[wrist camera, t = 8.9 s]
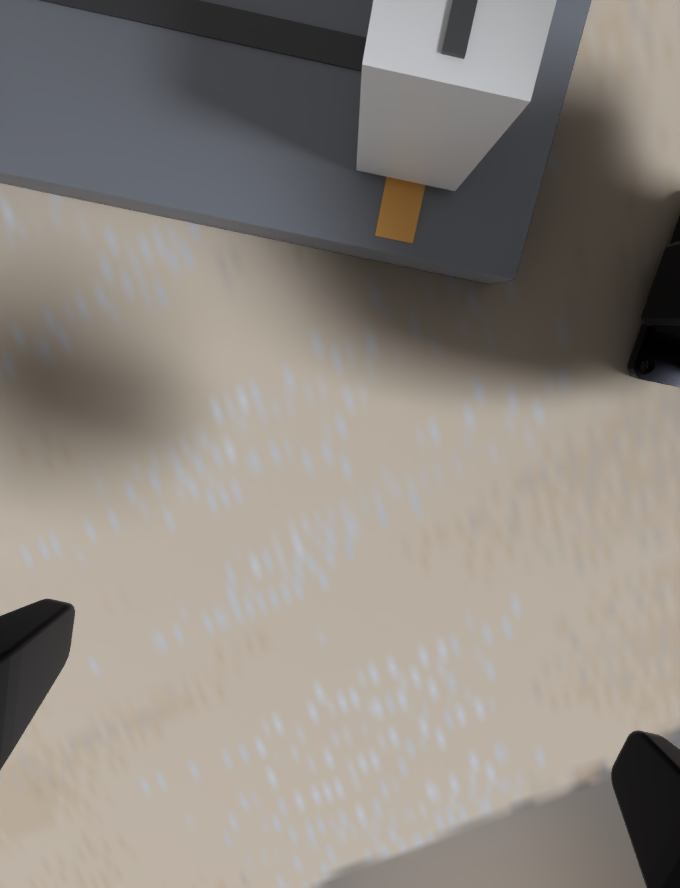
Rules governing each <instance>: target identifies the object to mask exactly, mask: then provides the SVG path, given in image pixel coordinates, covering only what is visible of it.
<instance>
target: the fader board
mask: <svg viewBox="0 0 680 888" xmlns="http://www.w3.org/2000/svg"><path fill="white" fill-rule="evenodd" d="M590 4H591V0H557V1H556V5H555V9H554V13H553V17H552V20H551V24H550V28H549V32H548V36H547V40H546V44H545V47H544V51H543V55H542V59H541V63H540V67H539V70H538V74H537V78H536V82H535V86H534V90H533V94H532V97H531V101H530V103H529V104H528V105H527V106H526V107H525V109H524V110H523V111H522V112H521V113H520V115H519V116H518V117H517V118H516V119H515V121H514V122H513V123H512V124H511V125H510V126H509V128H508V129H507V130H506V131H505V132H504V134H503V135H502V136H501V137H500V138H499V140H498V141H497V142H496V143H495V144H494V146H493V147H492V148H491V149H490V150H489V151H488V153H487V154H486V155H485V156H484V157H483V159H482V160H481V161H480V162H479V163H478V165H477V166H476V167H475V168H474V169H473V171H472V172H471V173H470V174H469V175H468V176H467V178H466V179H465V180H464V181H463V182H462V184H461V185H460V186H459V187H458V188H457V190H456V191H451V190H447V189H442V188H437V187H433V186H428V185H423V184H419V183H414V182H409V181H405V180H400V179H395V178H390V177H386V176H381V175H376V174H372V173H367V172H362V171H358V170H356V165H357V147H358V129H359V110H360V92H361V74H362V62H363V56H364V50H365V45H366V39H367V34H368V28H369V22H370V17H371V11H372V5H373V0H0V183H4V184H8V185H13V186H18V187H23V188H28V189H33V190H37V191H42V192H47V193H52V194H57V195H62V196H66V197H71V198H76V199H81V200H86V201H91V202H95V203H100V204H105V205H110V206H115V207H120V208H124V209H129V210H134V211H139V212H144V213H149V214H153V215H158V216H163V217H168V218H173V219H178V220H182V221H187V222H192V223H197V224H202V225H207V226H211V227H216V228H221V229H226V230H231V231H236V232H240V233H245V234H250V235H255V236H260V237H265V238H269V239H274V240H279V241H284V242H289V243H294V244H298V245H303V246H308V247H313V248H318V249H323V250H327V251H332V252H337V253H342V254H347V255H352V256H356V257H361V258H366V259H371V260H376V261H381V262H385V263H390V264H395V265H400V266H405V267H410V268H414V269H419V270H424V271H429V272H434V273H439V274H443V275H448V276H453V277H458V278H463V279H468V280H472V281H477V282H482V283H487V284H495V283H500V282H504V281H508V280H512V279H515V276H516V272H517V269H518V265H519V261H520V258H521V254H522V250H523V247H524V243H525V240H526V236H527V232H528V229H529V225H530V221H531V218H532V214H533V210H534V207H535V203H536V200H537V196H538V192H539V189H540V185H541V181H542V178H543V174H544V171H545V167H546V163H547V160H548V156H549V152H550V149H551V145H552V142H553V138H554V134H555V131H556V127H557V123H558V120H559V116H560V113H561V109H562V105H563V102H564V98H565V94H566V91H567V87H568V84H569V80H570V76H571V73H572V69H573V65H574V62H575V58H576V55H577V51H578V47H579V44H580V40H581V36H582V33H583V29H584V26H585V22H586V18H587V15H588V11H589V7H590Z"/></svg>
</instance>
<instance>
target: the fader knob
mask: <svg viewBox="0 0 680 888" xmlns="http://www.w3.org/2000/svg"><path fill="white" fill-rule="evenodd" d="M556 1H557V0H373V5H372V11H371V17H370V22H369V28H368V34H367V39H366V45H365V50H364V56H363V62H362V74H361V92H360V110H359V129H358V147H357V165H356V170H358V171H362V172H367V173H372V174H376V175H381V176H386V177H390V178H395V179H400V180H405V181H409V182H414V183H419V184H423V185H428V186H433V187H437V188H442V189H447V190H451V191H456V190H457V188H458V187H459V186H460V185H461V184H462V182H463V181H464V180H465V179H466V178H467V176H468V175H469V174H470V173H471V172H472V171H473V169H474V168H475V167H476V166H477V165H478V163H479V162H480V161H481V160H482V159H483V157H484V156H485V155H486V154H487V153H488V151H489V150H490V149H491V148H492V147H493V146H494V144H495V143H496V142H497V141H498V140H499V138H500V137H501V136H502V135H503V134H504V132H505V131H506V130H507V129H508V128H509V126H510V125H511V124H512V123H513V122H514V121H515V119H516V118H517V117H518V116H519V115H520V113H521V112H522V111H523V110H524V109H525V107H526V106H527V105H528V104H529V103H530V101H531V97H532V94H533V90H534V86H535V82H536V78H537V74H538V70H539V67H540V63H541V59H542V55H543V51H544V47H545V44H546V40H547V36H548V32H549V28H550V24H551V20H552V17H553V13H554V9H555V5H556Z"/></svg>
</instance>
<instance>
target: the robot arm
mask: <svg viewBox="0 0 680 888" xmlns="http://www.w3.org/2000/svg"><path fill="white" fill-rule="evenodd" d="M641 318H642V321H643V322H642V325H641V328H640V331H639V334H638V337H637V340H636V342H635V345H634V348H633V351H632V354H631V357H630V360H629V362H628V371H629V374H630V375H631V376H632V377H634V378H637V379H642V380H647V381H652V382H657V383H662V384H667V385H672V386H677V387H680V217H679V220H678V223H677V225H676V228H675V231H674V234H673V237H672V240H671V242H670V245H669V246H668V247H666V248H665V250H664V252H663V255H662V258H661V261H660V264H659V267H658V270H657V272H656V275H655V278H654V281H653V284H652V287H651V290H650V292H649V295H648V298H647V301H646V304H645V307H644V310H643V313H642V315H641ZM645 360H647V362H648V367H647V369H646V370H645V371H643V372H642V371H641V364H642V362H643V361H645ZM74 617H75V609H74V606H73V605H72V604H70V603H66V602H62V601H57V600H53V599H44V600H40V601H38V602H35V603H32V604H30V605H27V606H25V607H22V608H20V609H17V610H14V611H12V612H9V613H7V614H4V615H1V616H0V770H1V768H2V767H3V765H4V764H5V762H6V760H7V759H8V757H9V756H10V754H11V752H12V751H13V749H14V748H15V746H16V744H17V743H18V741H19V739H20V738H21V736H22V734H23V733H24V731H25V729H26V728H27V726H28V725H29V723H30V721H31V720H32V718H33V716H34V715H35V713H36V711H37V710H38V708H39V706H40V705H41V703H42V701H43V700H44V698H45V697H46V695H47V693H48V692H49V690H50V688H51V687H52V685H53V683H54V682H55V680H56V678H57V677H58V675H59V674H60V672H61V670H62V669H63V667H64V665H65V663H66V661H67V658H68V656H69V652H70V647H71V639H72V632H73V624H74ZM611 780H612V785H613V789H614V791H615V795H616V798H617V801H618V804H619V807H620V810H621V812H622V816H623V819H624V822H625V825H626V828H627V831H628V834H629V836H630V839H631V843H632V846H633V848H634V851H635V854H636V857H637V860H638V863H639V866H640V869H641V872H642V875H643V878H644V881H645V884H646V887H647V888H680V749H678V748H677V747H676V746H674V745H673V744H672V743H670V742H669V741H668V740H667V739H665V738H664V737H662V736H660V735H657V734H652V733H648V732H643V731H633V732H632V733H631V734H629V736H628V737H627V739H626V741H625V743H624V745H623V747H622V749H621V751H620V753H619V755H618V757H617V759H616V761H615V763H614V765H613V767H612V772H611Z"/></svg>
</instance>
